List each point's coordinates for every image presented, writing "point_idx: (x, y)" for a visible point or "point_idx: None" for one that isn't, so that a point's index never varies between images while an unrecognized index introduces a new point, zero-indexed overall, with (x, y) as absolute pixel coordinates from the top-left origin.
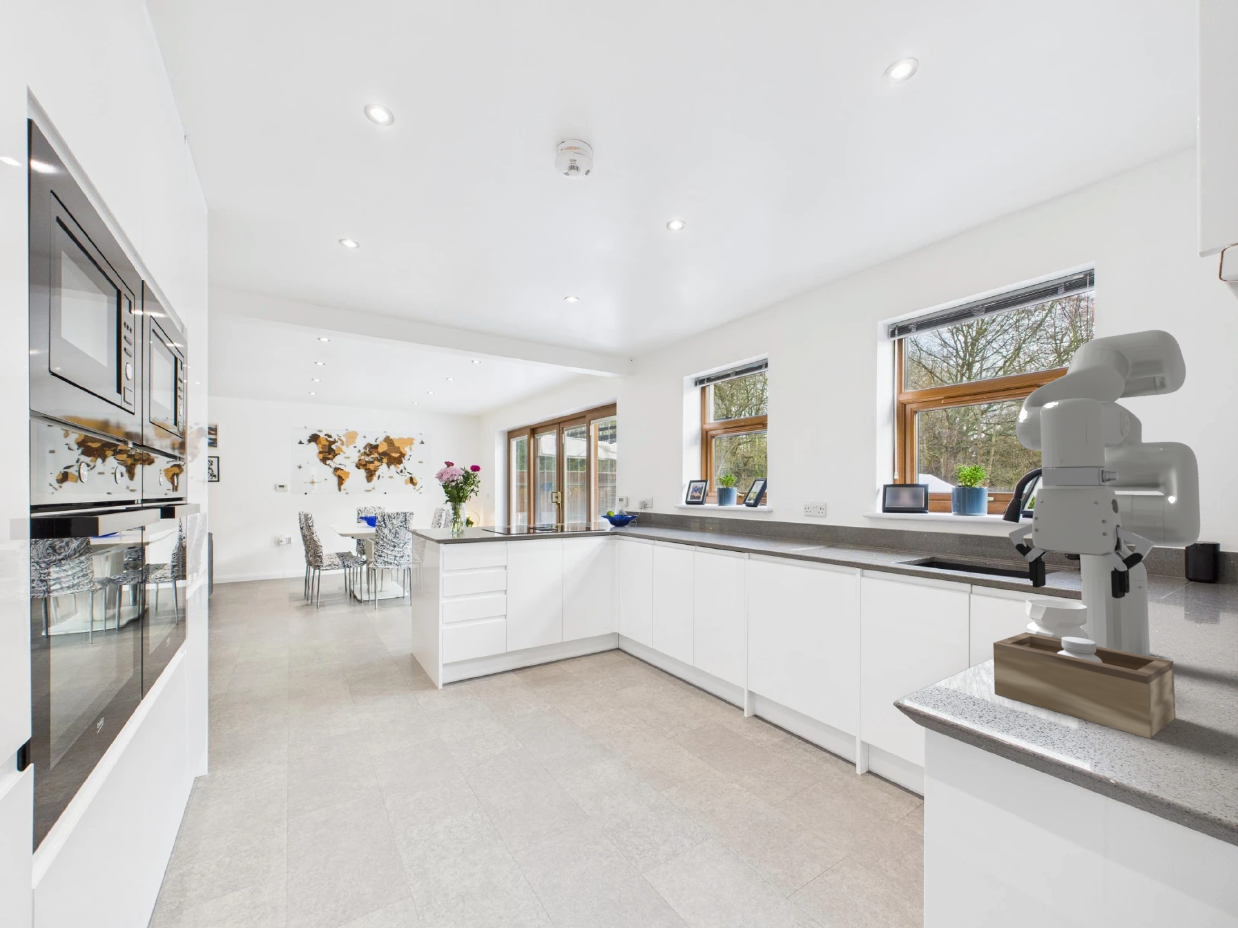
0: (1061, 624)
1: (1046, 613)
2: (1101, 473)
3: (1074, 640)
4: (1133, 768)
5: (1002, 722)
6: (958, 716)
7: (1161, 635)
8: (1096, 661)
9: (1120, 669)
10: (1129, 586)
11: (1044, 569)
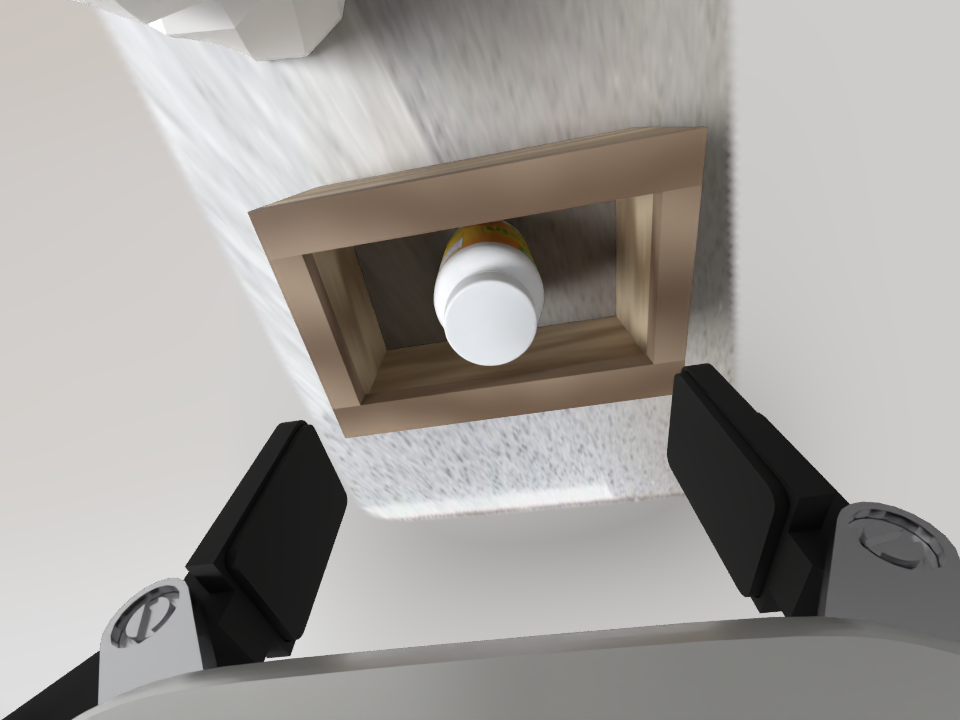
0: None
1: (139, 4)
2: None
3: (489, 345)
4: (644, 453)
5: (477, 464)
6: (435, 496)
7: None
8: (539, 312)
9: (626, 391)
10: (772, 427)
11: (271, 514)
